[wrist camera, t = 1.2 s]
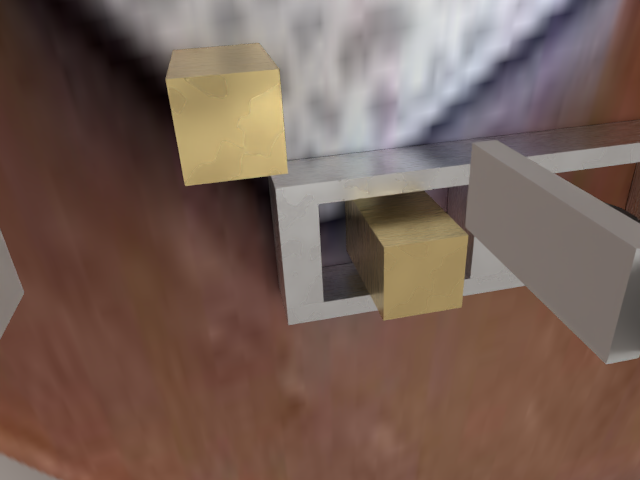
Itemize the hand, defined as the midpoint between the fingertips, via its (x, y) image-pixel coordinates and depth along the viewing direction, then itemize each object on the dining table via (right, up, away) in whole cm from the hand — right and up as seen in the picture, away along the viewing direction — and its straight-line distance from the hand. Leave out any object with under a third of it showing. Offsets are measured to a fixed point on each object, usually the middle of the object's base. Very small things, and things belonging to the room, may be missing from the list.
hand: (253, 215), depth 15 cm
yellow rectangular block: (-4, +8, +14) cm, 17 cm away
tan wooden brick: (+6, +1, +20) cm, 21 cm away
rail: (+13, +2, +21) cm, 25 cm away
